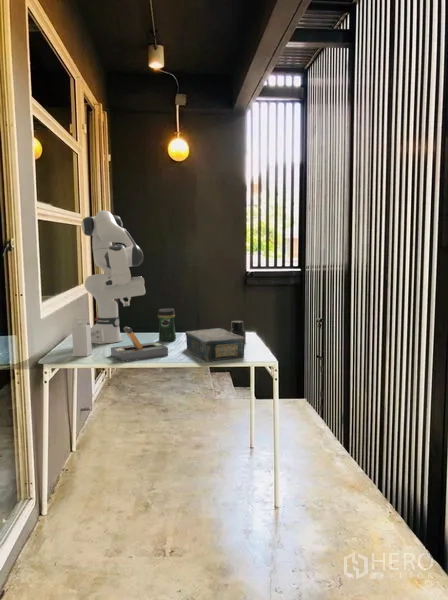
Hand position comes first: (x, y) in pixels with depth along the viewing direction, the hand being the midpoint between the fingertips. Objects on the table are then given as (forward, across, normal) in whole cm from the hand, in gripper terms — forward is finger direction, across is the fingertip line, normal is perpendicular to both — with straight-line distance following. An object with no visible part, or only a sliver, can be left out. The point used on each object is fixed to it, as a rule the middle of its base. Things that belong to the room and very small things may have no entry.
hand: (126, 305), depth 232 cm
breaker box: (+26, -2, +3) cm, 26 cm away
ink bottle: (+36, -54, -18) cm, 68 cm away
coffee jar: (+34, -15, -32) cm, 49 cm away
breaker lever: (+22, -3, +2) cm, 22 cm away
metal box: (+30, -40, +4) cm, 50 cm away
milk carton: (+24, +26, -3) cm, 36 cm away
